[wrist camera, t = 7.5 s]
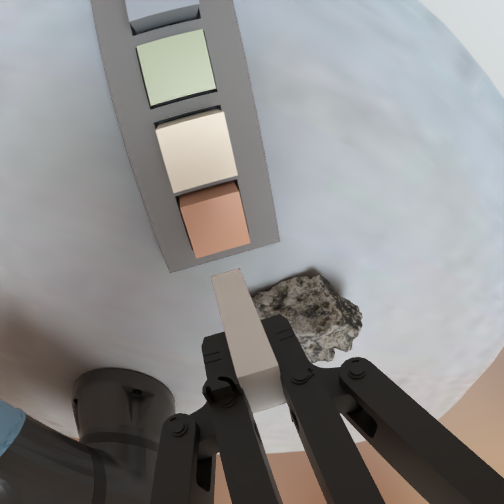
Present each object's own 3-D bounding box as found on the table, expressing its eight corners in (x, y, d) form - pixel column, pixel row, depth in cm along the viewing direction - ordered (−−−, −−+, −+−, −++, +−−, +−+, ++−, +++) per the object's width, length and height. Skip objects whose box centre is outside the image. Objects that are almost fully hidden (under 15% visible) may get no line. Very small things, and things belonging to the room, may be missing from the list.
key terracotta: (193, 236, 27) (196, 258, 24) (179, 190, 25) (179, 207, 22) (240, 222, 28) (250, 242, 24) (230, 176, 26) (238, 191, 22)
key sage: (155, 104, 21) (150, 105, 18) (143, 53, 19) (136, 46, 15) (210, 89, 22) (216, 88, 18) (198, 39, 19) (202, 29, 16)
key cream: (174, 177, 23) (173, 193, 20) (159, 124, 21) (155, 130, 17) (228, 162, 24) (237, 175, 20) (216, 108, 21) (223, 111, 18)
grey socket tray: (170, 256, 29) (170, 273, 26) (96, -10, 15) (87, -21, 13) (270, 227, 30) (280, 241, 27) (214, -40, 16) (219, -54, 14)
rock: (337, 236, 34) (317, 271, 26) (376, 306, 35) (367, 357, 26) (251, 282, 41) (212, 320, 33) (289, 340, 42) (261, 387, 33)
